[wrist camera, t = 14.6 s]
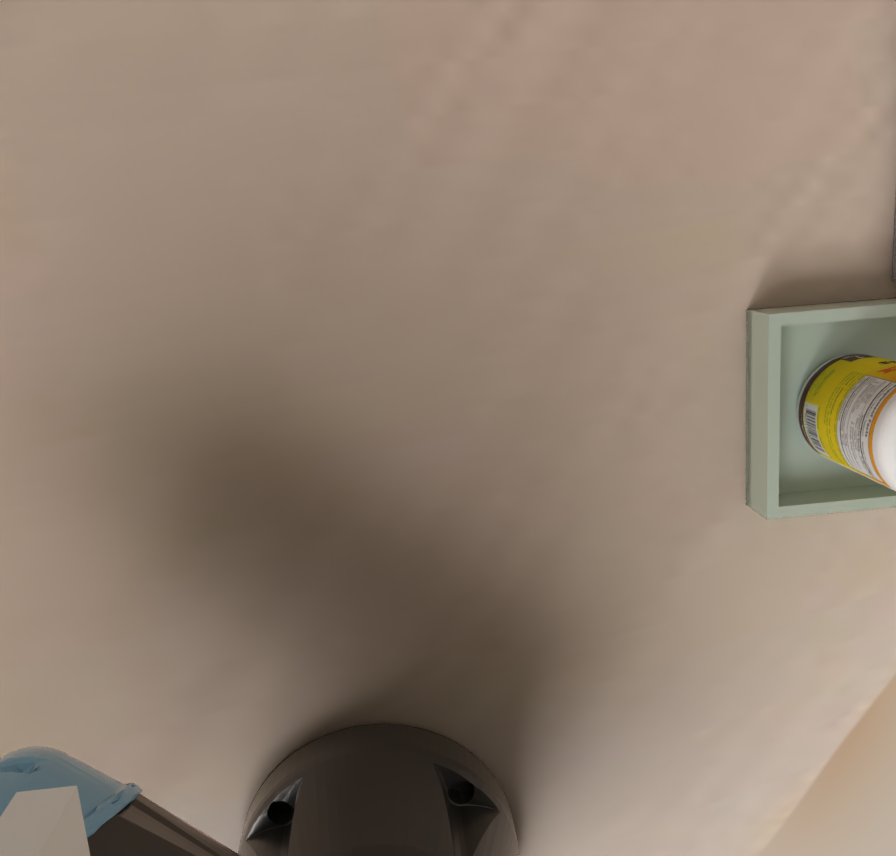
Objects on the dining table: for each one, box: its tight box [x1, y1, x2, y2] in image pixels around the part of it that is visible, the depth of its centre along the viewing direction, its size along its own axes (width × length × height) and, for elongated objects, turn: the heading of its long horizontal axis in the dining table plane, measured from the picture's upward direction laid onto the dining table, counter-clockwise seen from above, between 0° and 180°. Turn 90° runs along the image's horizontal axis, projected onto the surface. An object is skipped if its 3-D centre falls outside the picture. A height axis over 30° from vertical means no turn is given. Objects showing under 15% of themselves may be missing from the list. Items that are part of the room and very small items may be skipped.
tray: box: [746, 298, 896, 519], centre depth 43 cm, size 10×10×2 cm
